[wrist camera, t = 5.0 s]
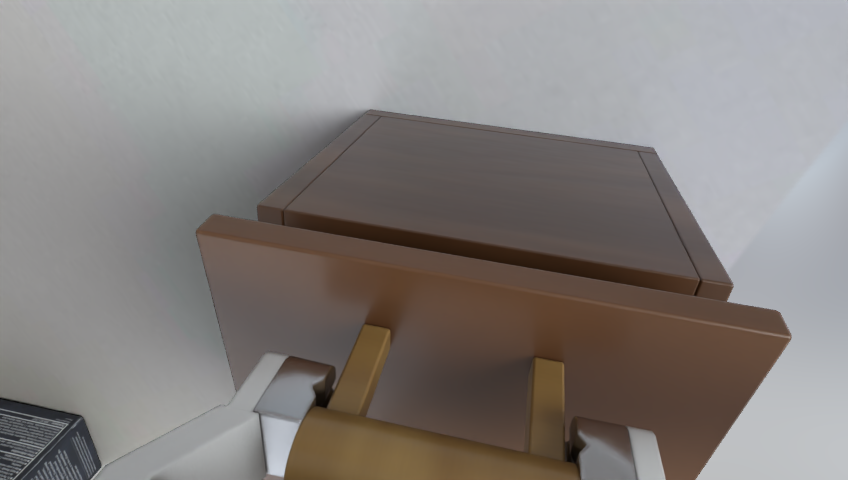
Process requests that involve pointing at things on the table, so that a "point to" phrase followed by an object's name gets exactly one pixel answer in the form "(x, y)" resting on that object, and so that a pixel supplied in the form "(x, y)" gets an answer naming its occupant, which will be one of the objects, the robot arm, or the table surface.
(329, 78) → the table surface
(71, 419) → the small box
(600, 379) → the lid
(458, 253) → the brown wooden open box
